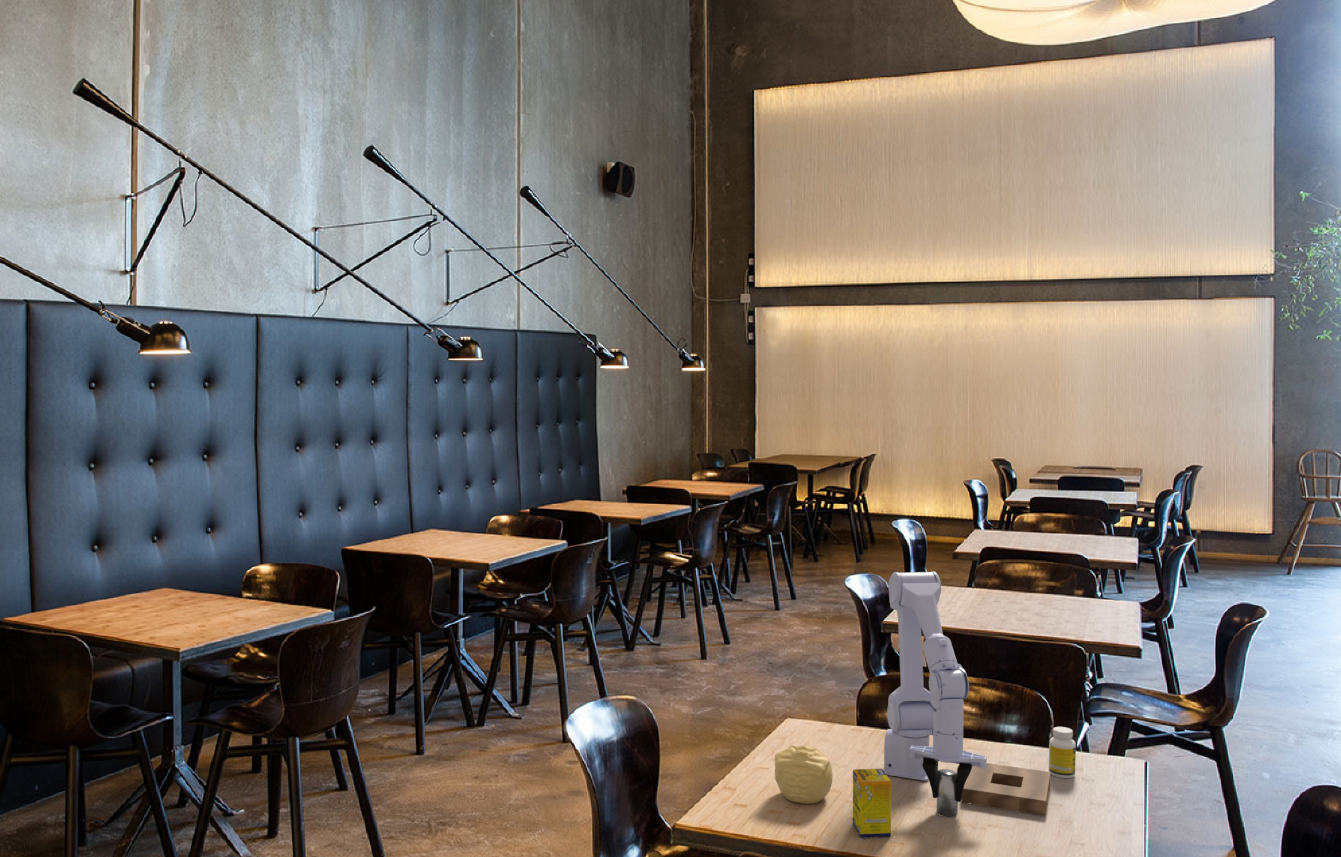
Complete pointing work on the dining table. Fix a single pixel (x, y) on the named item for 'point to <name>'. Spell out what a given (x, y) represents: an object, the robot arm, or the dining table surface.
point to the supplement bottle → (1062, 753)
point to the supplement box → (871, 803)
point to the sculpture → (803, 774)
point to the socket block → (1008, 788)
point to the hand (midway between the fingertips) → (947, 798)
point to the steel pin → (947, 792)
